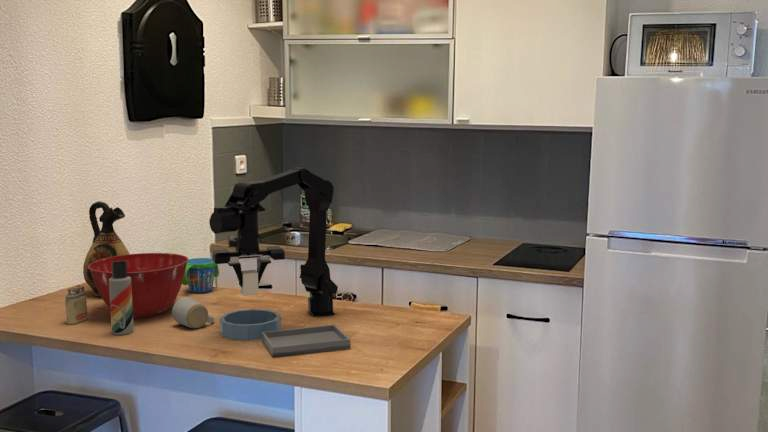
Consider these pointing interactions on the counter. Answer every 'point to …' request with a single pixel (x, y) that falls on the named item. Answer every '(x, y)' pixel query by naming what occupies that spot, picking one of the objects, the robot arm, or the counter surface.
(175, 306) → the ceramic mug
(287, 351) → the tray
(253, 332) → the blue ring
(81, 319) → the lighter
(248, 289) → the beige rectangular block
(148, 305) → the mixing bowl
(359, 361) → the counter surface
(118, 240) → the ceramic jug
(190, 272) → the snack cup
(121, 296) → the lotion bottle
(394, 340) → the counter surface
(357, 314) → the counter surface
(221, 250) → the robot arm
